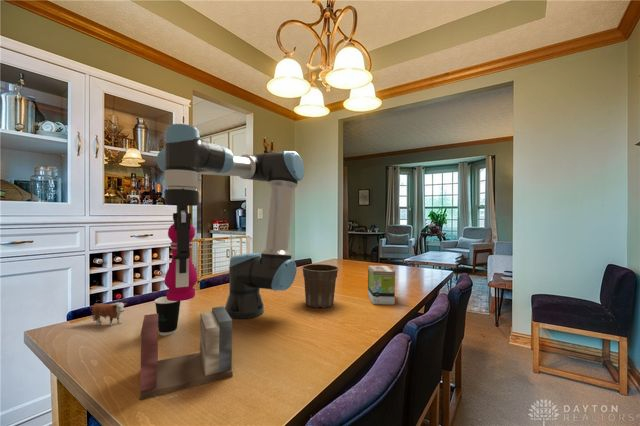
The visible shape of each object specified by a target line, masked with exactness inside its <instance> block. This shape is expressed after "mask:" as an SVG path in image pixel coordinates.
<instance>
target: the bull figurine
mask: <svg viewBox="0 0 640 426" xmlns="http://www.w3.org/2000/svg"><path fill="white" fill-rule="evenodd" d="M126 305H128V303H127V302H124V303H123V302H118V301H117V302H115V303H94V304H93V305H92V306H91V318H92V320H93V322H95V321H96V325H97V326H98V327H100V326H101V325H102V323H103V321H102V319H101V318H102V317H103V318H104V319H107V318H108V317H109V323H108V325H109V326H110V327H113V326H114V325H113V320H115V319H116V321H117V324H118V325H122V321H121V319H120V318H121V317H120V316H121V314H122V313H123V312H125V309H124V308H125V306H126Z"/></svg>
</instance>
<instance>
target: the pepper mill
mask: <svg viewBox="0 0 640 426" xmlns="http://www.w3.org/2000/svg"><path fill="white" fill-rule="evenodd" d="M195 235H196V229H195V227H194V226H193V225H192V224H191V223H190V230H189V253H190V256H189V286H188V287H178V288H176V259H174V260H173V256H177V231H176V230H175V229H174V223H173V224H171V225H170V226H169V228H168V230H167V236H168V238H169V239H170V240H171V242H170V243H169V244H170V246H169V248H170V249H171V252H172V256H171V262H170V264H169V267H168V269H167V270H166V273H165V277H164V285H165V287H166V288H168V289H169V290H167V291H166V296H167V300H169V301H180V302H183V301H189V300H190V299H193V298H195V297H196V289H195V288H194V286H195V285H196V283H197V281H198V274H197V271H196V268H195V266H194V264H193V261H192V257H191V256H192V255H191V251H192V250H191V249H192V248H193V247H194V246H193V244H194V242H193V241H192V240H193V239H194V237H195Z"/></svg>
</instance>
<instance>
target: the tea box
mask: <svg viewBox="0 0 640 426" xmlns="http://www.w3.org/2000/svg"><path fill="white" fill-rule="evenodd" d="M367 267H368V268H367V295H368V296H367V297H368V298H369V299H370V301H371V303H372V304H373V305H395V294H396V293H395V291H396V290H395V288H396V286H395V285H396V271H395V270H394V269H392V268H391V267H390V266H388V265H368V266H367Z"/></svg>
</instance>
